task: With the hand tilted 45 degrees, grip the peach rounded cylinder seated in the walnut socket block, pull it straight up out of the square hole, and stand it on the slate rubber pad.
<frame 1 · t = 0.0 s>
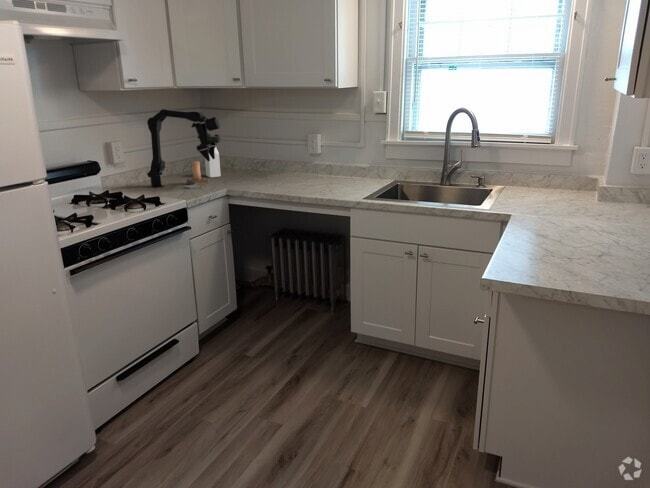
hand: (211, 160, 286), 15 cm above the worktop, tool pointing down, fingers open, 9 cm apart
walnut socket block: (197, 183, 300), on the worktop
milk carton: (213, 176, 324), on the worktop
slate rubber pad: (192, 187, 289), on the worktop
peach rounded cylinder: (196, 173, 298), in the walnut socket block
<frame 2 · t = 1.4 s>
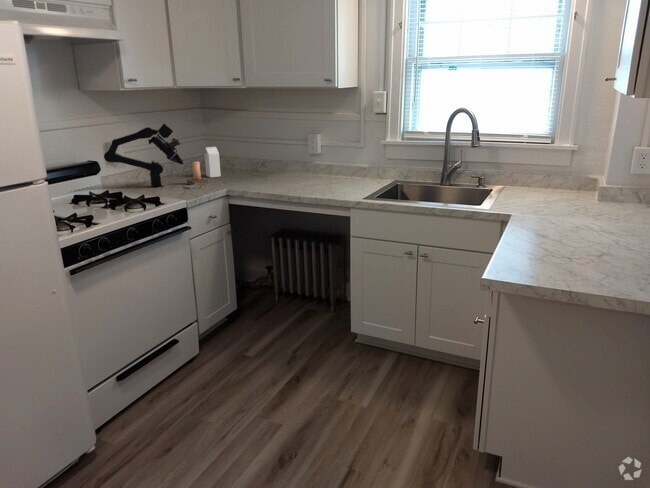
hand: (182, 162, 294), 13 cm above the worktop, tool tilted 45°, fingers open, 9 cm apart
nothing on the worktop moved.
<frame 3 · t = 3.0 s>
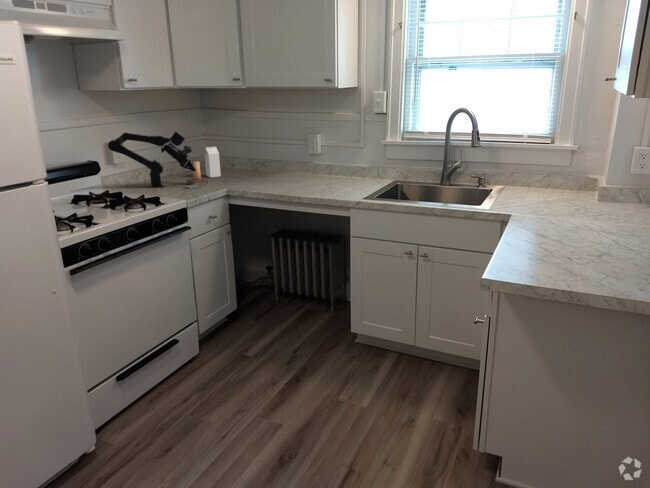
hand: (195, 169, 297), 9 cm above the worktop, tool tilted 45°, fingers open, 9 cm apart
nothing on the worktop moved.
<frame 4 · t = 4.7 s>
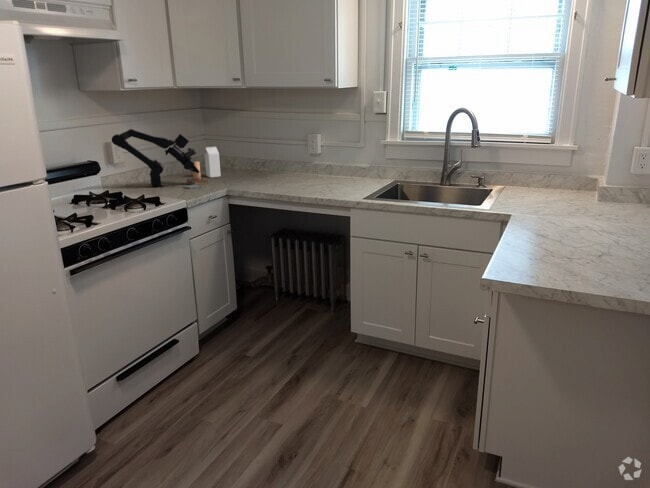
hand: (198, 171, 298), 7 cm above the worktop, tool tilted 45°, fingers closed on peach rounded cylinder, 4 cm apart
peach rounded cylinder: (196, 173, 298), in the walnut socket block, touching gripper
everything else where it was.
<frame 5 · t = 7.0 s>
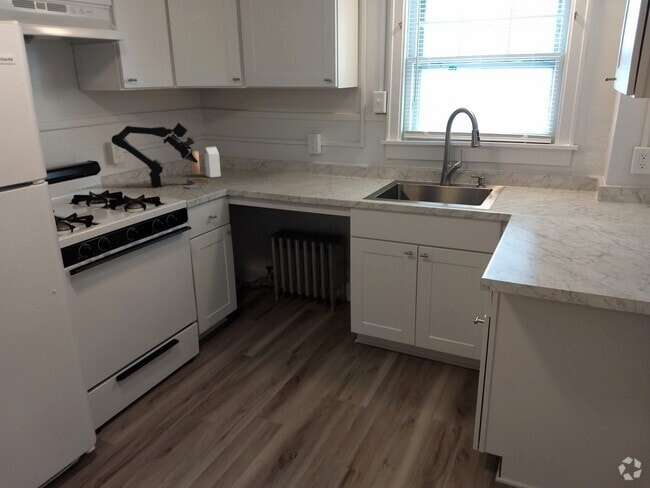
hand: (197, 161, 294), 14 cm above the worktop, tool tilted 45°, fingers closed on peach rounded cylinder, 4 cm apart
peach rounded cylinder: (195, 162, 294), point 13 cm above the worktop, touching gripper
everything else where it was.
when the fingers open (10 cm above the worktop, at t = 9.4 s): peach rounded cylinder drops 2 cm, resting on slate rubber pad.
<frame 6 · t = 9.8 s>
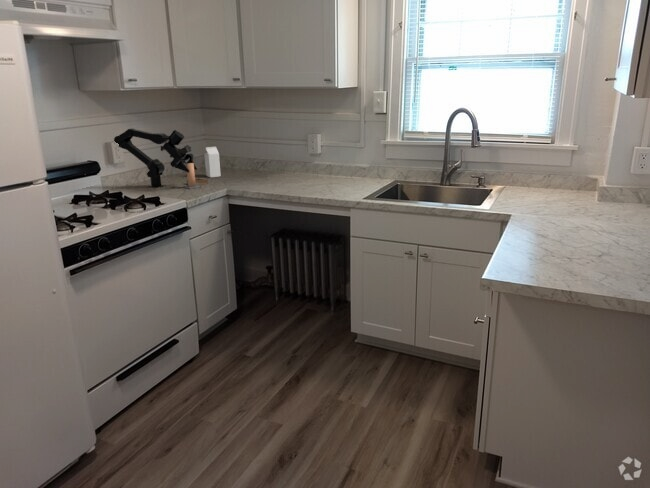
hand: (192, 170, 286), 10 cm above the worktop, tool tilted 45°, fingers open, 9 cm apart
peach rounded cylinder: (190, 174, 287), on the slate rubber pad, point 7 cm above the worktop
everything else where it was.
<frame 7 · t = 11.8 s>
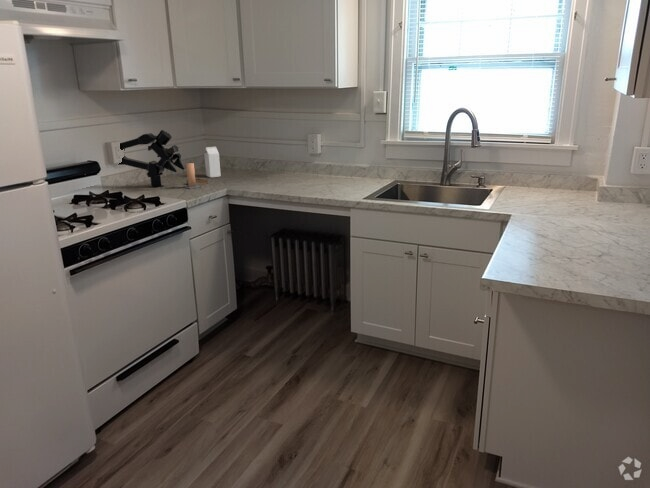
hand: (180, 170, 287), 10 cm above the worktop, tool tilted 45°, fingers open, 9 cm apart
nothing on the worktop moved.
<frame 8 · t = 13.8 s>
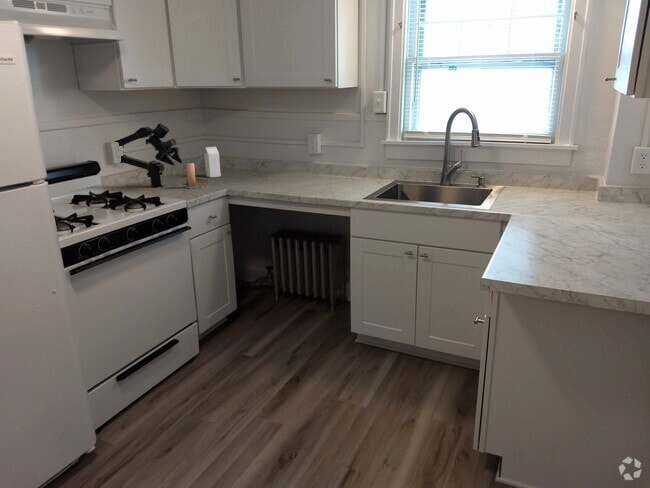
hand: (177, 163, 286), 14 cm above the worktop, tool tilted 45°, fingers open, 9 cm apart
nothing on the worktop moved.
at the end: peach rounded cylinder 0.0 cm off-centre on the slate rubber pad, point 7.3 cm above the slate rubber pad's base; peach rounded cylinder tilted 1°; the gripper is holding nothing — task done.
